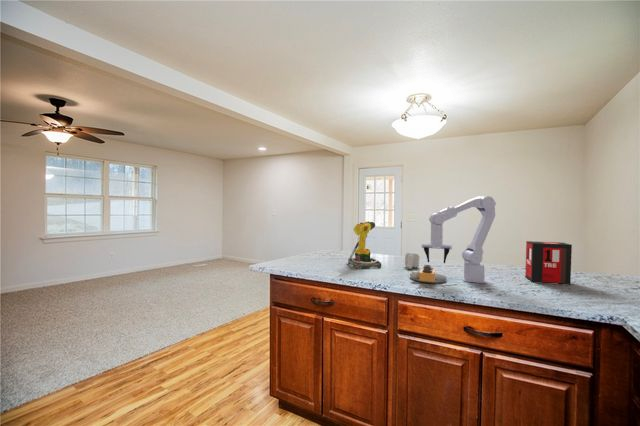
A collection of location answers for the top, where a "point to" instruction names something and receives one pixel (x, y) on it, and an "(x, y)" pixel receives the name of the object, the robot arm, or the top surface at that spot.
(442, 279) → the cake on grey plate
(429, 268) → the wedge
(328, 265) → the top surface
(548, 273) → the cleaning product box
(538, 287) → the top surface
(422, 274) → the bracket
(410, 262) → the grey rounded block
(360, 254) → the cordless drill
